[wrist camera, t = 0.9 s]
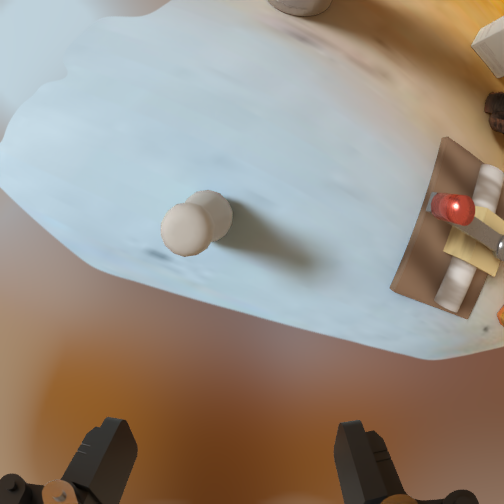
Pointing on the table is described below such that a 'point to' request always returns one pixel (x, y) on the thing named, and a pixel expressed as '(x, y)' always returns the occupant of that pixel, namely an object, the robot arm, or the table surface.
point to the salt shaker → (196, 223)
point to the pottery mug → (496, 110)
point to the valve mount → (453, 236)
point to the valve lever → (465, 220)
